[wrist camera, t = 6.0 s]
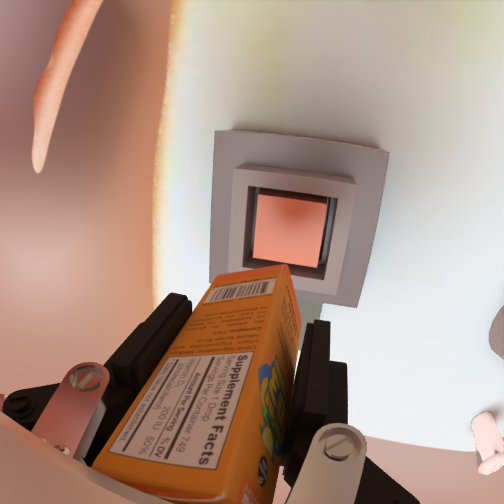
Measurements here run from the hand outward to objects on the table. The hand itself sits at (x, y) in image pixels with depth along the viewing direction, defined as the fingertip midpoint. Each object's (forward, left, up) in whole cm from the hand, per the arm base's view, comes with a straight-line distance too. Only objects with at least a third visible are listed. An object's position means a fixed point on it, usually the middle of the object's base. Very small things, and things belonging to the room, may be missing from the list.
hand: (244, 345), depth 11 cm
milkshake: (+24, +31, -18) cm, 43 cm away
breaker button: (0, 0, -14) cm, 14 cm away
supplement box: (0, 0, -3) cm, 3 cm away
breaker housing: (0, 0, -17) cm, 17 cm away
